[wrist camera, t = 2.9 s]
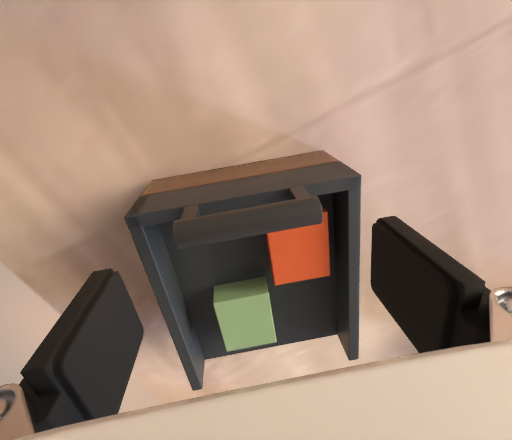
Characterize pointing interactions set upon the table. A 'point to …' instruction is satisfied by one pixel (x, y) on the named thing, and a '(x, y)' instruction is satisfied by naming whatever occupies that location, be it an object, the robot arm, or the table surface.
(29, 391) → the robot arm
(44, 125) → the table surface
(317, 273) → the tea pack
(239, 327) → the tea pack
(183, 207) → the tray
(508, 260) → the table surface
